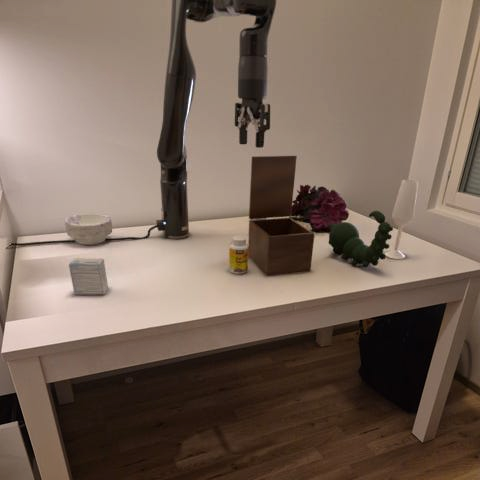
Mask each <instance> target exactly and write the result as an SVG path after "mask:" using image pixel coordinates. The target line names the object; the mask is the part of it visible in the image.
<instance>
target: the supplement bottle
mask: <svg viewBox="0 0 480 480" xmlns="http://www.w3.org/2000/svg"><path fill="white" fill-rule="evenodd" d="M228 252H229V253H228V254H229V258H228V259H229V260H228V270H229V272H230V273H232V274H235V275H242V274H245V273H247V272H248V268H249V267H248V266H249V256H248V243H247V238H246V237H245V236H241V235H235V236H233V237H232V239H231V243H230V244H229V250H228Z"/></svg>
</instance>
